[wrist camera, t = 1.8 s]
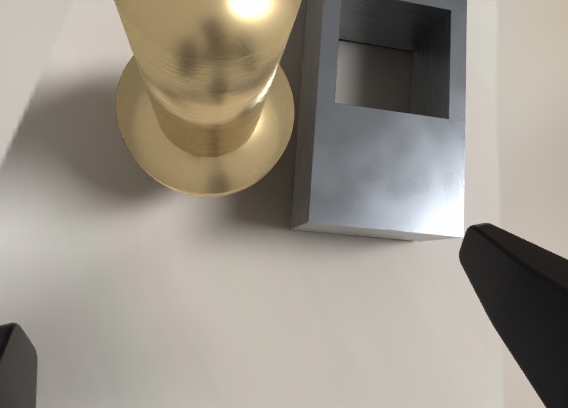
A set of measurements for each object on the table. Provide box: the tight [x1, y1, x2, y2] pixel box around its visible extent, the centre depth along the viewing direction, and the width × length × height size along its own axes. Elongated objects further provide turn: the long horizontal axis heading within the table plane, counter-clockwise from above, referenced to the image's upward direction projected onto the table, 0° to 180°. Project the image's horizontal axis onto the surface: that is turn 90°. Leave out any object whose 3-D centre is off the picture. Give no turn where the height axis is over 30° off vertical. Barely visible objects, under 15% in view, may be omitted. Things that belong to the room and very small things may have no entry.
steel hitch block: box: [290, 0, 467, 241], centre depth 21 cm, size 15×7×4 cm, turn 176°
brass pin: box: [114, 0, 302, 197], centre depth 15 cm, size 7×7×13 cm
